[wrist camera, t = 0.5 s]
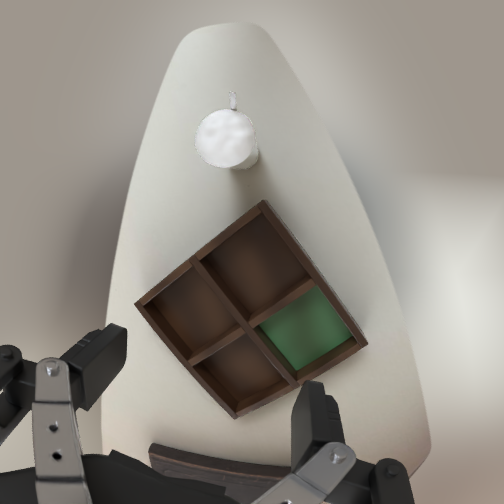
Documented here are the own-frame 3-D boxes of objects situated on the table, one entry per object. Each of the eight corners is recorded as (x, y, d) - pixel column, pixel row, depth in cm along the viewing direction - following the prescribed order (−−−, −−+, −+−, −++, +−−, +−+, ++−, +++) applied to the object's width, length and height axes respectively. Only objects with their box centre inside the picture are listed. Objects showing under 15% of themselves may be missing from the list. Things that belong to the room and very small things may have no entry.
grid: (266, 199, 30) (263, 199, 27) (363, 332, 30) (368, 344, 28) (145, 296, 33) (133, 304, 30) (238, 406, 34) (234, 419, 31)
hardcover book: (291, 514, 37) (290, 524, 35) (165, 493, 40) (161, 501, 38) (307, 466, 34) (307, 477, 32) (153, 440, 37) (147, 450, 35)
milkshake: (274, 132, 28) (264, 99, 19) (257, 182, 29) (239, 172, 20) (231, 120, 29) (202, 85, 19) (214, 169, 30) (178, 155, 20)
